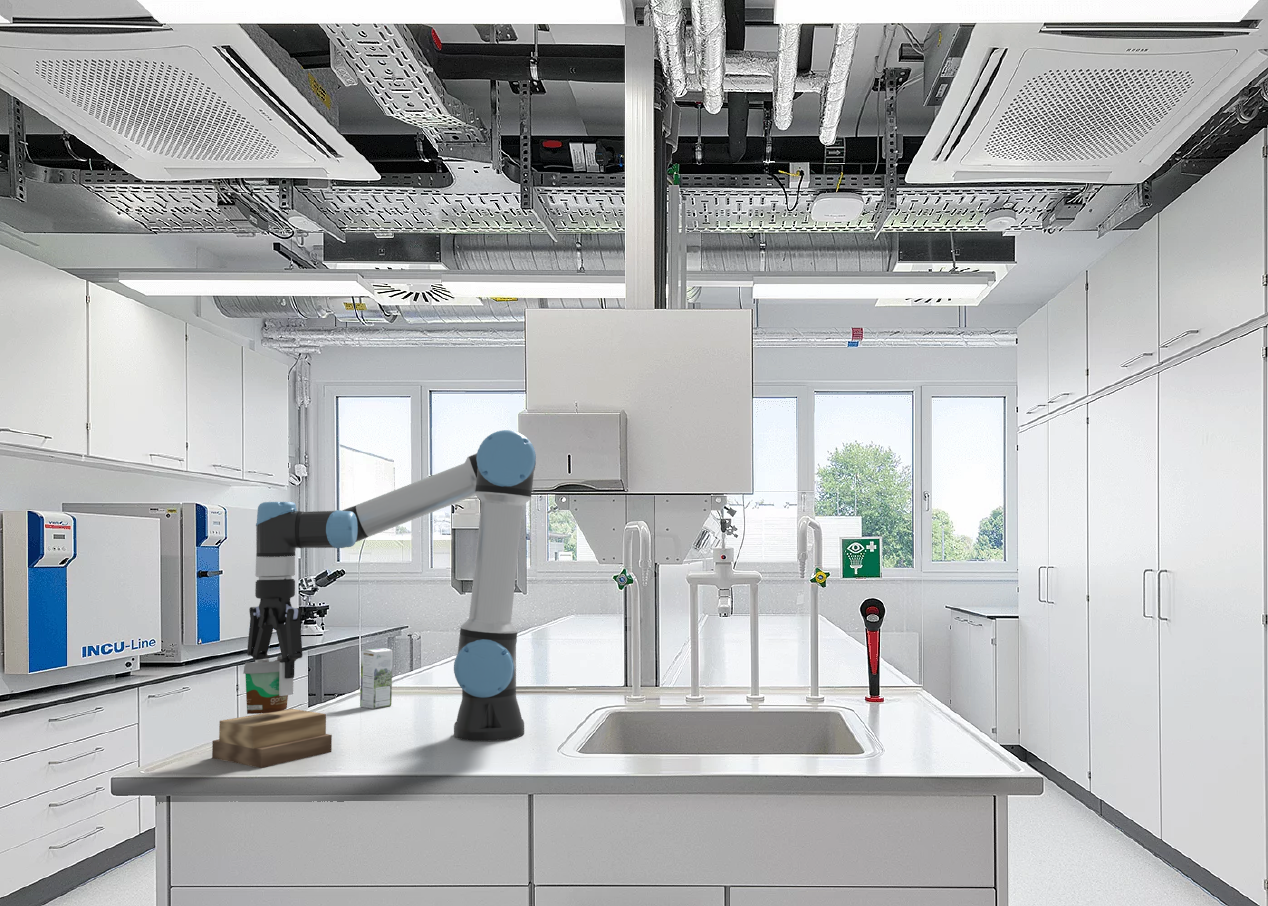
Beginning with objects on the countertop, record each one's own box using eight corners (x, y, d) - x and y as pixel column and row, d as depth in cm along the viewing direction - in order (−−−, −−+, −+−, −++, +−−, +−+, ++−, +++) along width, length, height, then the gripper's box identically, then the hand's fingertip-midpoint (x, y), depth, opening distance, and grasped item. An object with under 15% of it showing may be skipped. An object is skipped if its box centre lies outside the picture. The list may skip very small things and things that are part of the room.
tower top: (325, 734, 198) (325, 714, 198) (253, 748, 185) (253, 727, 185) (291, 728, 205) (291, 708, 205) (219, 741, 192) (219, 720, 193)
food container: (270, 715, 189) (271, 663, 190) (242, 715, 190) (243, 662, 191) (305, 705, 201) (306, 655, 202) (278, 704, 202) (279, 655, 203)
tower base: (331, 755, 197) (331, 734, 197) (261, 771, 184) (261, 749, 184) (282, 746, 206) (282, 727, 206) (212, 761, 193) (212, 740, 193)
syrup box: (378, 704, 254) (378, 647, 255) (392, 706, 250) (392, 648, 251) (359, 707, 250) (360, 649, 251) (373, 709, 246) (374, 651, 247)
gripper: (323, 577, 195) (321, 694, 193) (261, 577, 207) (259, 687, 205) (290, 579, 189) (289, 700, 187) (229, 578, 200) (227, 692, 199)
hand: (273, 693), depth 196 cm, fingers closed on food container, 7 cm apart
